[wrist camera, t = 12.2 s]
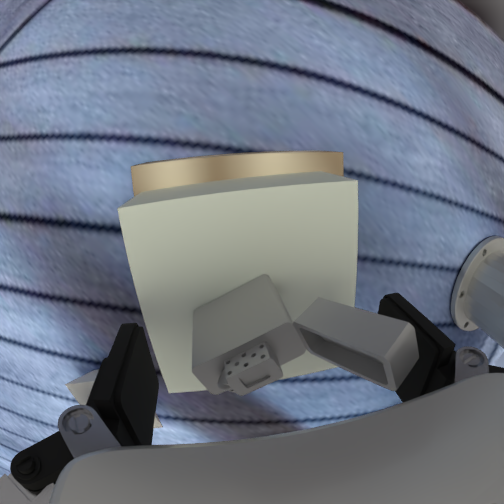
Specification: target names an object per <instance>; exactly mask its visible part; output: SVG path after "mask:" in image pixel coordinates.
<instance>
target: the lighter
mask: <svg viewBox="0 0 504 504" xmlns="http://www.w3.org/2000/svg"><path fill="white" fill-rule="evenodd" d="M306 349H307V350H308V351H309V352H310V353H311V354H313V355H315V356H317V357H319V358H321V359H323V360H325V361H327V362H329V363H332V364H334V365H336V366H338V367H340V368H342V369H344V370H346V371H349V372H351V373H353V374H355V375H357V376H359V377H362V378H364V379H366V380H368V381H371V382H373V383H375V384H377V385H380V386H382V387H384V388H386V389H389V390H391V391H396V390H397V389H398V388H399V386H400V385H401V384H402V382H403V381H404V379H405V378H406V376H407V375H408V374H409V372H410V371H411V369H412V368H413V366H414V365H415V363H416V362H417V360H418V359H419V352H418V346H417V339H416V333H415V328H414V327H413V326H412V325H411V324H410V323H409V322H406V321H402V320H398V319H395V318H391V317H387V316H384V315H380V314H376V313H373V312H369V311H366V310H362V309H358V308H355V307H351V306H348V305H344V304H341V303H337V302H333V301H330V300H326V299H323V298H319V297H318V298H317V299H316V300H315V301H314V302H313V303H312V304H311V305H310V306H309V307H308V308H307V309H306V310H305V311H304V312H303V313H302V314H301V315H300V316H299V317H298V318H297V319H295V320H294V321H292V319H291V317H290V315H289V313H288V311H287V309H286V307H285V305H284V303H283V301H282V299H281V297H280V295H279V294H278V292H277V290H276V288H275V286H274V284H273V283H272V281H271V279H270V277H269V275H266V274H262V275H261V276H259V277H257V278H255V279H253V280H251V281H249V282H247V283H245V284H244V285H242V286H240V287H238V288H236V289H234V290H232V291H230V292H228V293H226V294H225V295H223V296H221V297H219V298H217V299H215V300H213V301H211V302H209V303H207V304H205V305H203V306H201V307H200V308H198V309H196V310H194V313H193V331H192V373H193V374H194V375H195V376H196V378H197V379H198V380H199V381H200V382H201V383H202V384H203V385H204V386H205V388H206V389H207V390H208V391H209V392H210V393H211V394H216V395H218V394H220V393H222V392H225V391H231V392H234V393H237V394H238V395H240V396H243V395H245V394H248V393H250V392H252V391H254V390H257V389H259V388H261V387H263V386H265V385H267V384H270V383H272V382H274V381H276V380H278V379H280V378H282V377H283V372H282V369H281V365H283V364H285V363H287V362H289V361H291V360H293V359H295V358H297V357H299V356H301V355H303V354H304V353H305V351H306Z"/></svg>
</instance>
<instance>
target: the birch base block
mask: <svg viewBox="0 0 504 504" xmlns="http://www.w3.org/2000/svg"><path fill="white" fill-rule="evenodd" d="M314 171H323V172H327V173H331V174H335V175H339V176H343V152H332V151H272V152H250V153H234V154H220V155H208V156H198V157H188V158H178V159H170V160H162V161H154V162H146V163H142V164H138V165H134V166H131V173H132V183H133V191H134V197H135V196H136V195H138V194H139V193H140V192H144V191H150V190H156V189H162V188H168V187H175V186H182V185H189V184H196V183H203V182H211V181H219V180H227V179H236V178H245V177H255V176H265V175H276V174H287V173H300V172H314Z"/></svg>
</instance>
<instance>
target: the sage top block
mask: <svg viewBox="0 0 504 504" xmlns="http://www.w3.org/2000/svg"><path fill="white" fill-rule="evenodd" d="M118 214H119V219H120V224H121V229H122V234H123V239H124V243H125V248H126V252H127V257H128V261H129V265H130V269H131V273H132V277H133V281H134V285H135V289H136V293H137V296H138V300H139V304H140V307H141V311H142V314H143V317H144V321H145V324H146V327H147V331H148V334H149V337H150V340H151V343H152V346H153V349H154V352H155V355H156V358H157V361H158V364H159V367H160V370H161V373H162V375H163V378H164V381H165V384H166V386H167V389H168V392H169V393H178V392H191V391H201V390H207V389H206V388H205V386H204V385H203V384H202V383H201V382H200V381H199V380H198V379H197V378H196V376H195V375H194V374H193V373H192V331H193V313H194V310H196V309H198V308H200V307H201V306H203V305H205V304H207V303H209V302H211V301H213V300H215V299H217V298H219V297H221V296H223V295H225V294H226V293H228V292H230V291H232V290H234V289H236V288H238V287H240V286H242V285H244V284H245V283H247V282H249V281H251V280H253V279H255V278H257V277H259V276H261V275H262V274H266V275H269V277H270V279H271V281H272V283H273V284H274V286H275V288H276V290H277V292H278V294H279V295H280V297H281V299H282V301H283V303H284V305H285V307H286V309H287V311H288V313H289V315H290V317H291V319H292V321H294V320H295V319H297V318H298V317H299V316H300V315H301V314H302V313H303V312H304V311H305V310H306V309H307V308H308V307H309V306H310V305H311V304H312V303H313V302H314V301H315V300H316V299H317V298H318V297H319V298H323V299H326V300H330V301H333V302H337V303H341V304H344V305H348V306H351V307H354V305H355V291H356V274H357V249H358V181H357V180H354V179H350V178H346V177H343V176H339V175H335V174H331V173H327V172H323V171H314V172H300V173H287V174H276V175H265V176H255V177H245V178H236V179H227V180H219V181H211V182H203V183H196V184H189V185H182V186H175V187H168V188H162V189H156V190H150V191H144V192H140V193H139V194H138V195H136V196H135V197H133V198H132V199H130V200H129V201H127V202H126V203H125V204H123V205H122V206H120V207H119V208H118ZM336 367H338V366H336V365H334V364H332V363H329V362H327V361H325V360H323V359H321V358H319V357H317V356H315V355H313V354H311V353H310V352H309V351H308V350H307V349H306V351H305V353H304V354H303V355H301V356H299V357H297V358H295V359H293V360H291V361H289V362H287V363H285V364H283V365H281V369H282V372H283V377H282V378H280V379H285V378H290V377H295V376H300V375H305V374H310V373H314V372H319V371H323V370H328V369H332V368H336ZM278 380H279V379H278Z"/></svg>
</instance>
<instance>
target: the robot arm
mask: <svg viewBox="0 0 504 504" xmlns="http://www.w3.org/2000/svg"><path fill="white" fill-rule="evenodd" d="M378 314H380V315H384V316H387V317H391V318H395V319H398V320H402V321H406V322H409V323H410V324H411V325H412V326H413V327H414V328H415V333H416V339H417V346H418V352H419V359H418V360H417V362H416V363H415V365H414V366H413V368H412V369H411V371H410V372H409V374H408V375H407V376H406V378H405V379H404V381H403V382H402V384H401V385H400V386H399V388H398V389H397V390H396V391H395V392H396V393H397V394H398V396H399V397H400V399H401V400H402V402H403V403H400V404H398V405H395V406H392V407H389V408H386V409H382V410H379V411H376V412H373V413H369V414H366V415H362V416H359V417H355V418H352V419H348V420H344V421H340V422H336V423H332V424H328V425H324V426H319V427H315V428H310V429H305V430H300V431H295V432H289V433H284V434H278V435H272V436H265V437H258V438H250V439H242V440H233V441H222V442H210V443H195V444H174V445H152V436H153V427H154V419H155V411H156V404H157V396H158V389H159V383H158V378H157V375H156V372H155V368H154V365H153V362H152V358H151V355H150V351H149V348H148V344H147V341H146V337H145V333H144V330H143V327H138V325H137V323H127V324H122V325H121V327H120V329H119V332H118V334H117V336H116V339H115V341H114V344H113V346H112V349H111V351H110V354H109V356H108V358H104V359H103V361H102V363H101V366H100V368H99V371H98V374H97V376H96V379H95V381H94V384H93V387H92V389H91V392H90V395H89V398H88V400H87V403H86V405H75V406H72V407H70V408H68V409H66V410H65V411H64V412H63V413H62V414H61V415H60V417H59V419H58V428H59V431H58V432H56V433H54V434H53V435H51V436H49V437H47V438H45V439H43V440H42V441H40V442H38V443H36V444H34V445H32V446H30V447H29V448H27V449H25V450H23V451H21V452H19V453H18V454H17V455H16V456H15V457H14V458H13V460H12V462H11V468H10V470H11V474H10V475H9V476H7V475H6V474H4V475H3V476H2V477H1V478H0V504H504V368H501V367H496V366H492V365H488V359H487V356H486V355H485V354H484V353H483V352H482V351H481V350H479V349H477V348H474V347H462V348H460V349H458V351H457V352H455V351H454V347H455V344H454V343H453V342H452V341H451V340H450V339H449V338H448V337H447V336H446V335H445V334H444V333H443V332H442V331H440V330H439V329H438V328H437V327H436V326H435V325H434V324H433V323H432V322H431V321H430V320H428V319H427V318H426V317H425V316H424V315H423V314H422V313H421V312H419V311H418V310H417V309H416V308H415V307H414V306H413V305H412V304H410V303H409V302H408V301H407V300H406V299H405V298H404V297H402V296H401V295H400V294H399V293H393V294H387V295H385V296H384V297H383V299H381V301H380V305H379V311H378ZM451 315H452V319H453V321H454V323H455V324H456V325H457V326H458V327H459V328H461V329H462V330H464V331H473V330H475V329H478V328H480V329H481V330H483V331H484V332H485V333H486V334H487V335H489V336H490V337H491V338H492V339H493V340H494V341H496V342H497V343H498V344H499V345H500V346H501V347H503V348H504V238H502V237H499V236H491V237H489V238H487V239H485V240H484V241H482V242H481V243H480V244H479V245H478V246H477V247H476V248H475V249H474V250H473V251H472V253H471V254H470V255H469V257H468V258H467V260H466V262H465V263H464V265H463V267H462V269H461V271H460V273H459V275H458V278H457V280H456V283H455V286H454V290H453V294H452V300H451Z"/></svg>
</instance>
